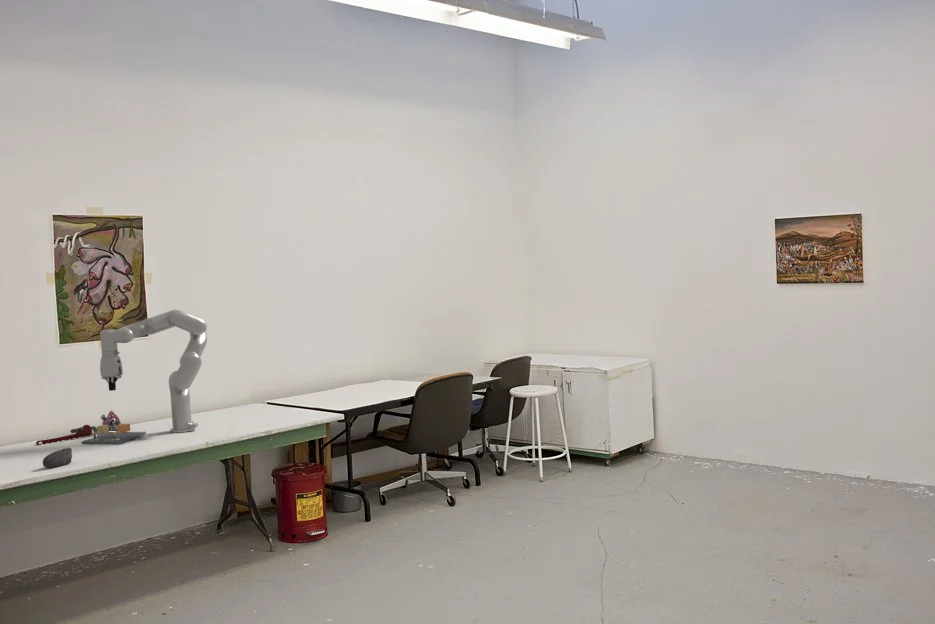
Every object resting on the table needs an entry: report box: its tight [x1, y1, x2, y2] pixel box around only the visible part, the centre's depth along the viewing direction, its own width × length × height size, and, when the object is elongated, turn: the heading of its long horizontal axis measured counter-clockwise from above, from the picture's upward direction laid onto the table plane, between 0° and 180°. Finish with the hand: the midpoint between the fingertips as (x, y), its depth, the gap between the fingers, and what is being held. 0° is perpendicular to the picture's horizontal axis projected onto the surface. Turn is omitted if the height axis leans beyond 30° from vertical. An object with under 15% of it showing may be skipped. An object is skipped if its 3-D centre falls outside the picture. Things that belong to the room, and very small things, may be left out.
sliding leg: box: [112, 423, 131, 438], centre depth 434 cm, size 4×11×5 cm, turn 167°
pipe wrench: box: [35, 424, 97, 446], centre depth 443 cm, size 7×2×30 cm
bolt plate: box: [80, 424, 147, 445], centre depth 433 cm, size 27×16×7 cm, turn 76°
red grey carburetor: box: [100, 410, 122, 432], centre depth 464 cm, size 11×11×12 cm
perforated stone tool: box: [42, 447, 73, 469], centre depth 379 cm, size 15×5×7 cm, turn 152°
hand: (112, 390), depth 436 cm, fingers closed
